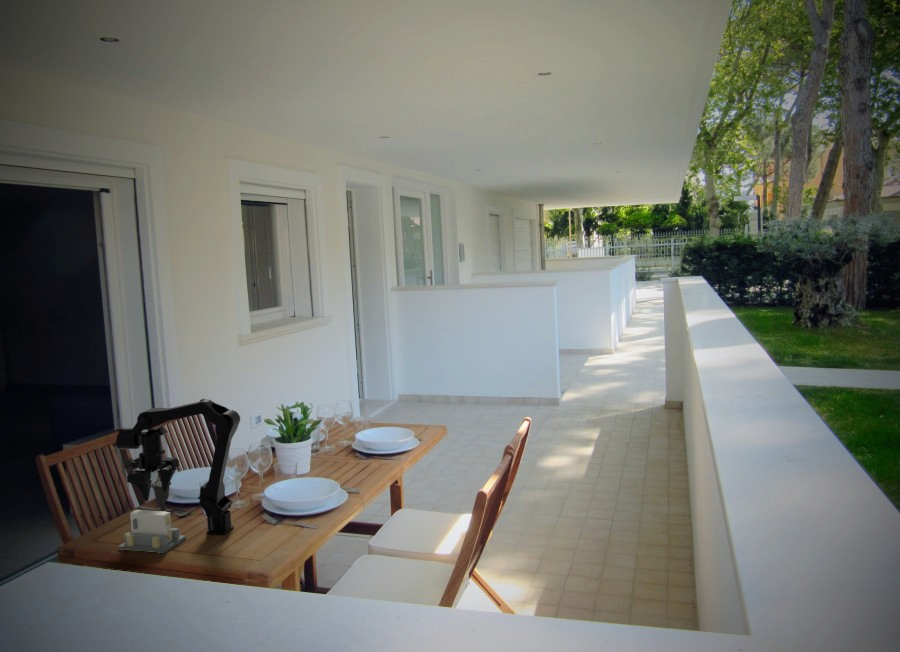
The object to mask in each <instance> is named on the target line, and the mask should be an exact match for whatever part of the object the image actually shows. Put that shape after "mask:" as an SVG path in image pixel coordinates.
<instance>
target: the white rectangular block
mask: <svg viewBox="0 0 900 652" xmlns="http://www.w3.org/2000/svg"><path fill="white" fill-rule="evenodd" d="M129 514H130V515H129V516H130V527H131V529H130V530H131V533H140V534H153V535H167V540H168V543H169V542H170V541H172V528H173V527H172V518H171V517H172V516H171V512H165V511H159V510H150V509H149V510H147V509H134V510H133V511H131V512H130V513H129Z"/></svg>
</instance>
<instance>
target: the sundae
mask: <svg viewBox="0 0 900 652" xmlns="http://www.w3.org/2000/svg"><path fill="white" fill-rule="evenodd" d="M171 485H172V482H171V481H170V483H169V486H168V488H167V491H163V489H162V483H161V477H160V475H159V476H158V477H157V478H156V480H155V482H153V483H151V488H152V489H153V492H154V497H155V500H156V501H157V502H158V503H160V509H159V510H160V511H165V512H167V511H169V510H170V509H169V510H168V508H166V506H165V504H166V502H167V501H168V499H169V495H170V486H171Z"/></svg>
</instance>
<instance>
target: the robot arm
mask: <svg viewBox="0 0 900 652" xmlns="http://www.w3.org/2000/svg"><path fill="white" fill-rule="evenodd" d="M198 415H202V416H204V417H205V418H206V419H207V420H208V421H209V422H210V423H211V424H213V425H214V433H215V437H216V443H215V446H214V452H213V455H212V456H213V457H212V462H211V467H210V472H209V476H208V481H206V482H204V484H202V485H201V486H200V489H199V495H198V498H197V500H198V501H199V507H201V508H202V509H203V511H204V513H205V515H206V520H207V523H206V524H207V530H206V532H205V534H208V535H220V536H223V535H225V534H227V533H228V532H230V531H232V530H233V529H234V528H235V525H232V516H231V515H232V514H231V510H229V509H230V508H232V504H233V501H232V500H231V499H230V498H229V497H227V495H225V494H226V493H225V489H226V488H225V483H224V479H225V478H224V477H225V473H226V469H227V468H226V467H227V465H228V463H227V462H228V457H229V452H230V450H231V449H230V447H231V444H232V439H233V437H234V435H235V433H236V432H237V430H238V427H239V424H240V422H241V415H239V413H238V412H237V411H236V410H234V409H229V408H228V407H226V406H223V405H221V404H219V403H217V402H215V401H212V399H205V398H204V399H203V400H201V401H200V400H199V401H196V402H192V403H191V402H190V403H186V404H183V405H178V406H174V407H173V406H172V407H152V408H149V409H147V410H144V411H143V412H140V413H139V414H138V416H137V419H136V423H135V424H134V426H133V427H121V428H119V429H118V433H117V435H116V440H115V446H116V448H117V449H118V450H138V449H140V447H141V449H142V451H141V452H139V455H138V457H136V458H134V459H133V458H132V457H129V458H127V459H125V460H124V464H123V465H124V469H125V470H127V471H128V470H129V473H128V474H127V475H126V483H127V484H128V483H130V485H134V486H135V487H137V489H138V490H139V492H140V494H141V495H140V496H142V498H143V500H144V501H145V502H147V501H149V499H150V495H151V488H152V487H151V485H152V481H153V479H151V478H152V475H153V474H155V473H158V474H159V476H160V477H161V483H162V489H163V491H167V488H168V486H169V483H170V482H171V481H172V479H173V477H174V474H175V472H176V471H177V469H178V467H180V460H179V459H178V458H177V457H170V456H169V457H166V456H165V457H163V454H166V449H163V447H162V436H164V435H165V434H167V433H168V430H166V429H165V428H163V426H160V425H162V424H165V423H167V422H170V421H175V420H180V419H185V418H188V417H189V418H190V417H192V416H193V417H194V416H198ZM158 426H159V427H158ZM155 427H157V428H155ZM146 430H147V431H146ZM169 487H170V486H169Z"/></svg>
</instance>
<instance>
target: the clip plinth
mask: <svg viewBox="0 0 900 652" xmlns="http://www.w3.org/2000/svg"><path fill="white" fill-rule="evenodd" d="M171 528H172V541H170V542H169V543H168V540H167V535H153V534H140V533H132V532H126V533H125V534H124V537H123V538H124V542H123V543H121V544H120V545H117V550H118V549H131V550H140V551H154V552H160V553H164V554H166V553H167V552H169V551H170V550H173V547H174V546H175V547H177V546H178V545H180V544H181V543H183V542H185V541H186V540H187V535H184V534H180V528H179V527H177V528H175V527H171ZM176 545H177V546H176ZM175 547H174V548H175ZM168 550H169V551H168ZM166 551H167V552H166ZM165 552H166V553H165ZM160 553H159V554H160Z"/></svg>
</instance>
